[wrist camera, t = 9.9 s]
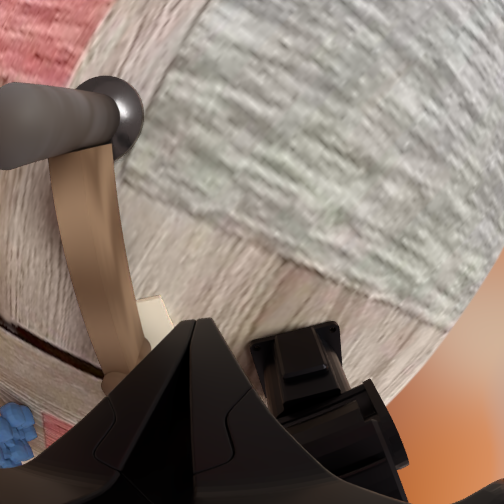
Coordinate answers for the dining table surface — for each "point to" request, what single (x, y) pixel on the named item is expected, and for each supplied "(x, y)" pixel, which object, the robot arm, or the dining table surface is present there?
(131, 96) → the hinge base
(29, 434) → the grapes
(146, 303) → the open pad
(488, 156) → the dining table surface
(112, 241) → the gate
